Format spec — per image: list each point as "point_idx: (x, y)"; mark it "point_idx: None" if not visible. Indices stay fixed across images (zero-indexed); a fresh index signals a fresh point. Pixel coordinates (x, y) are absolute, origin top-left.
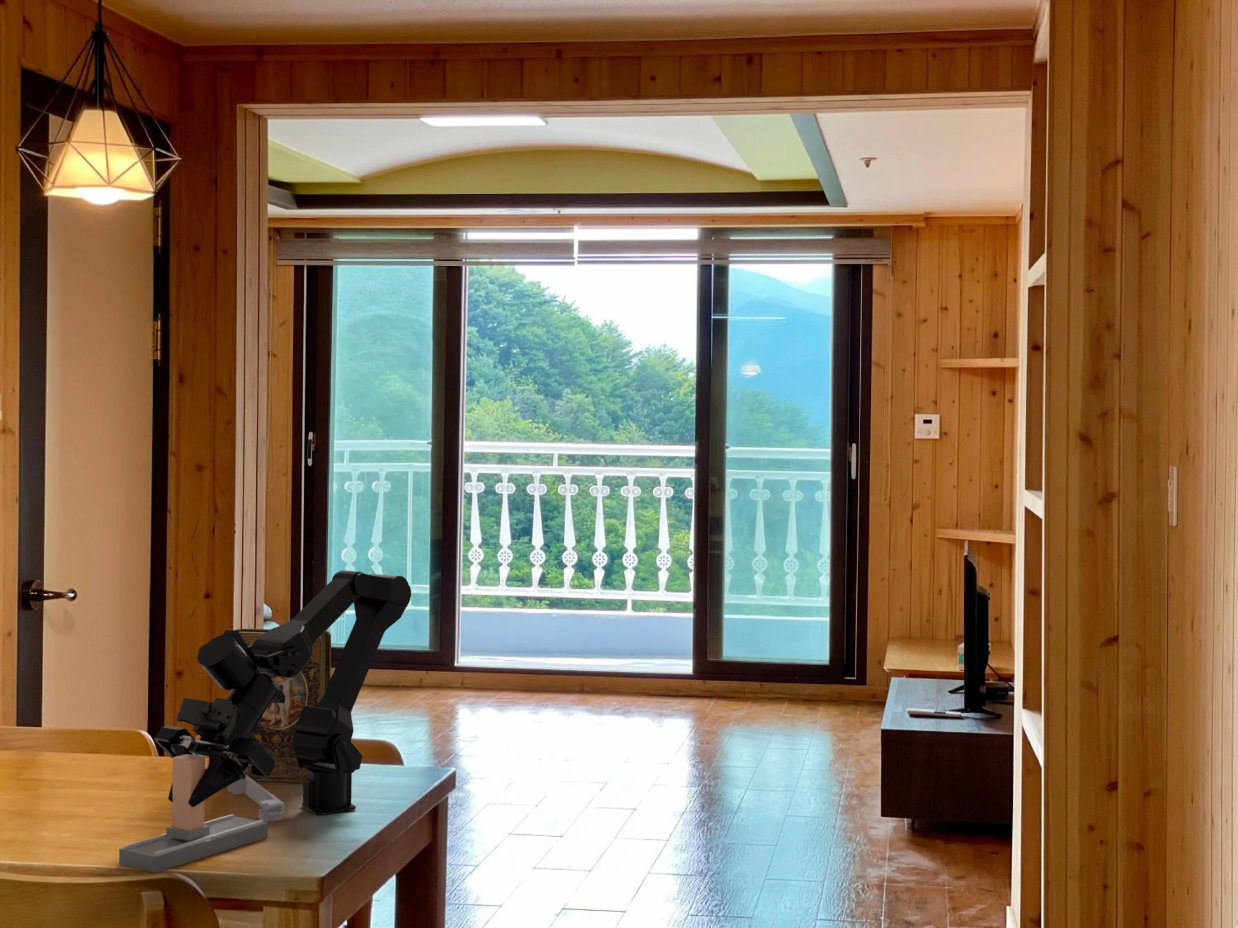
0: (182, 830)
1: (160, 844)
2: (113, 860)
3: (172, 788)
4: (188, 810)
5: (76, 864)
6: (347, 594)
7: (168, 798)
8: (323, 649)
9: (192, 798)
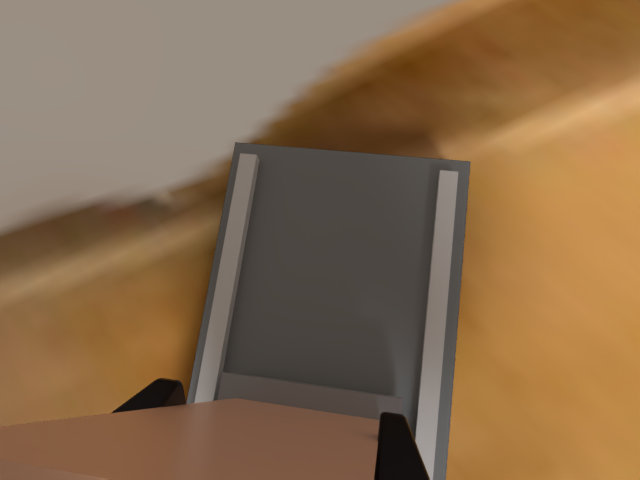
0: (276, 383)
1: (351, 299)
2: (522, 211)
3: (403, 477)
4: (216, 404)
5: (610, 107)
6: None
7: (400, 414)
8: None
9: (136, 396)
